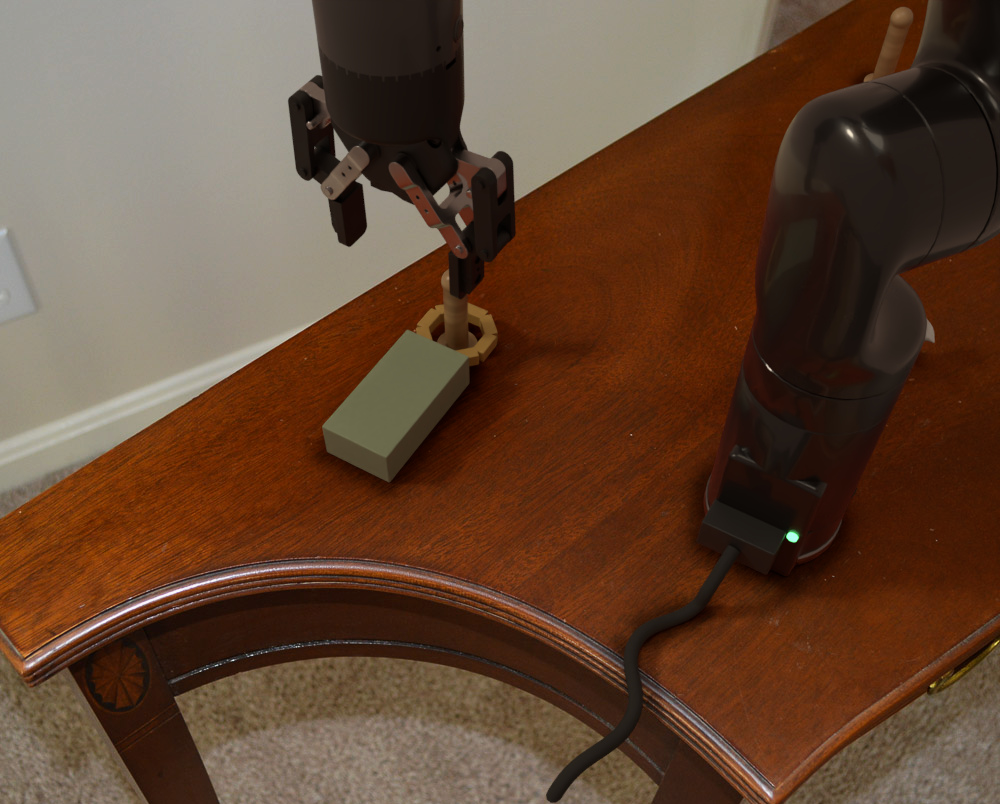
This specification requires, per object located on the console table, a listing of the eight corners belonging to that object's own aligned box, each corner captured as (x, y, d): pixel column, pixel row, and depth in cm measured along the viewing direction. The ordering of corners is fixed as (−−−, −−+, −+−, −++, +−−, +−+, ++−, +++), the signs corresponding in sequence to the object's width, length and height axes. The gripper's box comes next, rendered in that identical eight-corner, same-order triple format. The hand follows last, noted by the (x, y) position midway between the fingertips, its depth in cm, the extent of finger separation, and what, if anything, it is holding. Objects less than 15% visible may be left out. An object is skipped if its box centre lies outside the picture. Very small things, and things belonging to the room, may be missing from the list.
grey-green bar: (392, 485, 77) (389, 459, 75) (323, 451, 79) (318, 424, 77) (509, 338, 86) (510, 311, 83) (445, 310, 88) (443, 282, 85)
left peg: (464, 369, 84) (461, 293, 77) (429, 353, 85) (423, 276, 78) (485, 342, 85) (484, 266, 79) (450, 327, 86) (447, 250, 80)
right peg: (890, 100, 104) (916, 22, 97) (857, 90, 105) (882, 11, 98) (900, 83, 106) (927, 5, 99) (869, 73, 107) (893, -5, 100)
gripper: (234, 18, 56) (282, 255, 69) (466, 112, 52) (470, 346, 65) (323, -48, 60) (352, 190, 73) (547, 35, 55) (535, 271, 69)
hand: (408, 263), depth 69 cm, fingers open, 8 cm apart
